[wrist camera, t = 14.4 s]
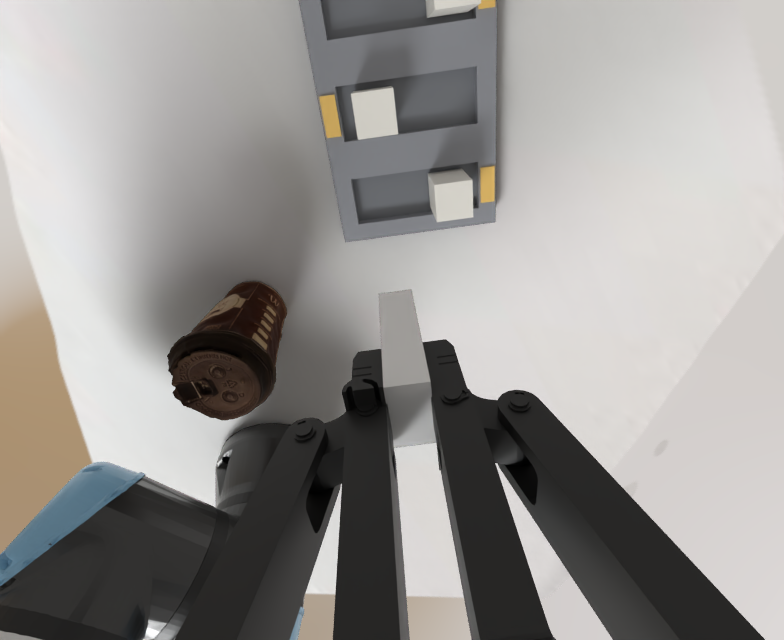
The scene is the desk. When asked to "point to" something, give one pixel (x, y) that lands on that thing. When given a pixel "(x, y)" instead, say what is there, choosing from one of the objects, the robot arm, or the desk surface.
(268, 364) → the coffee cup
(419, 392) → the robot arm
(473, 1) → the tab
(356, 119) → the tab
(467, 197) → the tab
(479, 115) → the switch board
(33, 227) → the desk surface
